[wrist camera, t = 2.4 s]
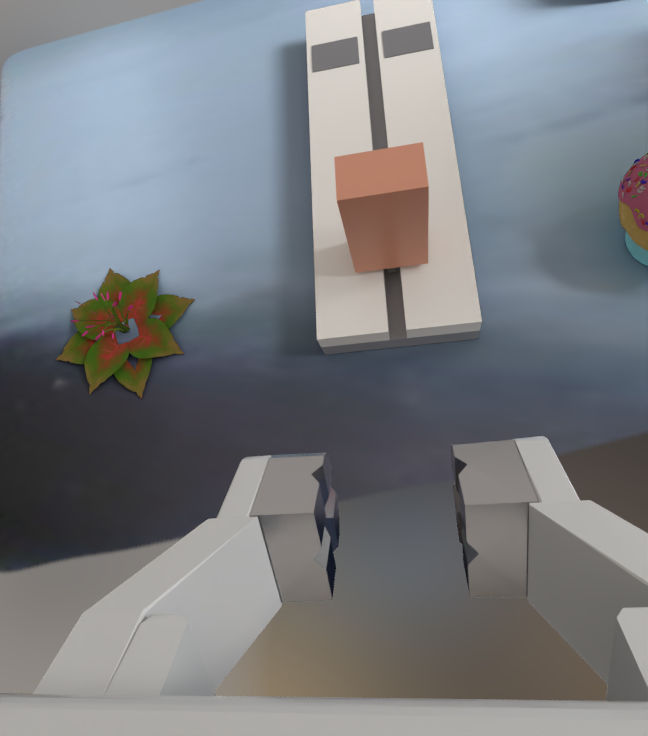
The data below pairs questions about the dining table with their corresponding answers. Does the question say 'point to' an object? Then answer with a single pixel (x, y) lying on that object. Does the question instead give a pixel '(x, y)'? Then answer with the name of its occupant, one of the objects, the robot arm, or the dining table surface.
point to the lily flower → (101, 322)
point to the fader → (384, 206)
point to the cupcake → (635, 209)
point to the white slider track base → (373, 132)
